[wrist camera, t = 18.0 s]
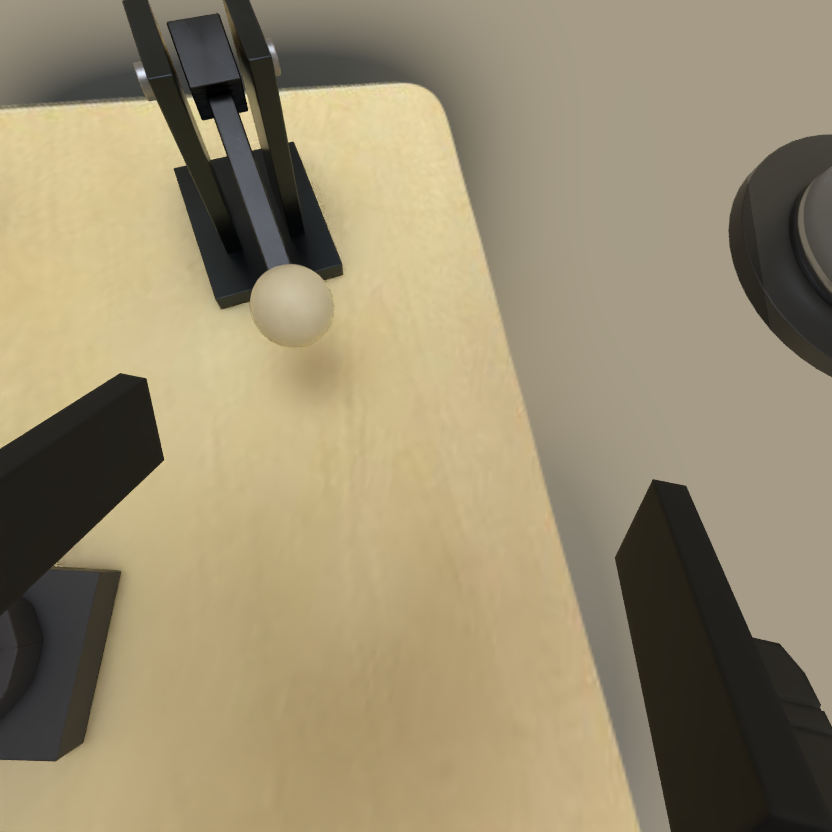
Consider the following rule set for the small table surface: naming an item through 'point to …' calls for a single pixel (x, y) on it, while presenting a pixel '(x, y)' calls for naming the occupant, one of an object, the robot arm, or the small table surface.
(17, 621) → the button box
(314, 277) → the lever
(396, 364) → the small table surface
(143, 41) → the bracket
